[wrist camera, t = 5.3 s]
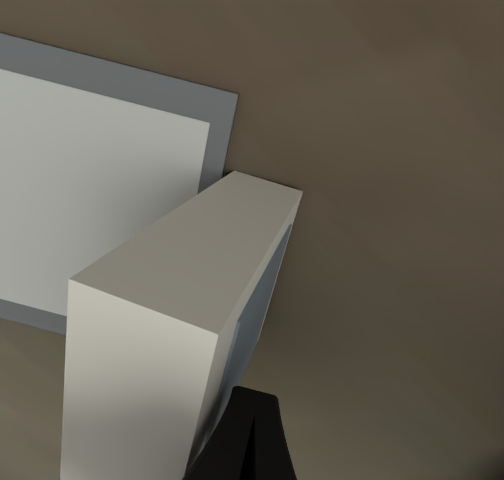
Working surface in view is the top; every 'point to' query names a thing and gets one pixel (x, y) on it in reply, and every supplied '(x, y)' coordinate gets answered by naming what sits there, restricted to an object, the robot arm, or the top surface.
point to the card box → (169, 331)
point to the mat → (92, 164)
